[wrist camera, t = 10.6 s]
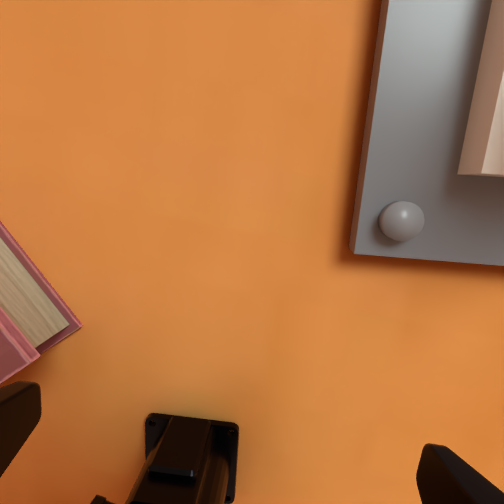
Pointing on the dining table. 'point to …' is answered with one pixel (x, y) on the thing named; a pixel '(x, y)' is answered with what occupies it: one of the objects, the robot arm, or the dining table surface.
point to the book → (27, 310)
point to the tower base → (434, 135)
